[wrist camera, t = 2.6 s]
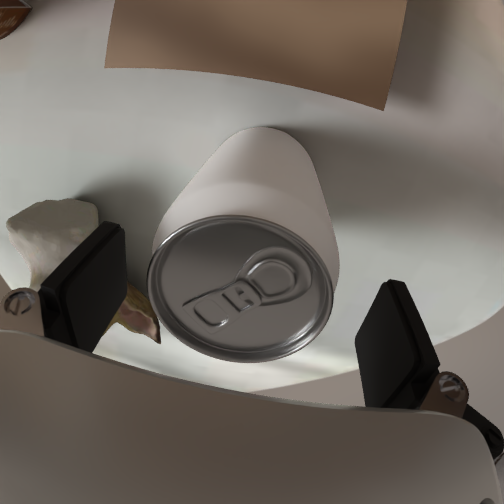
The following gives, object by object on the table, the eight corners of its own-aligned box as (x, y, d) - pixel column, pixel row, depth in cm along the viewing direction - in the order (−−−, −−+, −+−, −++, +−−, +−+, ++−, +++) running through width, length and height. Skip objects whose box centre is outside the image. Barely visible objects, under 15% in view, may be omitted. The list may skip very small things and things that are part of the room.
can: (333, 189, 19) (381, 324, 9) (252, 238, 22) (225, 388, 12) (273, 104, 17) (260, 147, 7) (191, 165, 19) (96, 276, 9)
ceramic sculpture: (45, 226, 12) (148, 400, 21) (121, 160, 19) (176, 319, 28) (-44, 242, 14) (50, 380, 22) (24, 185, 21) (86, 315, 29)
